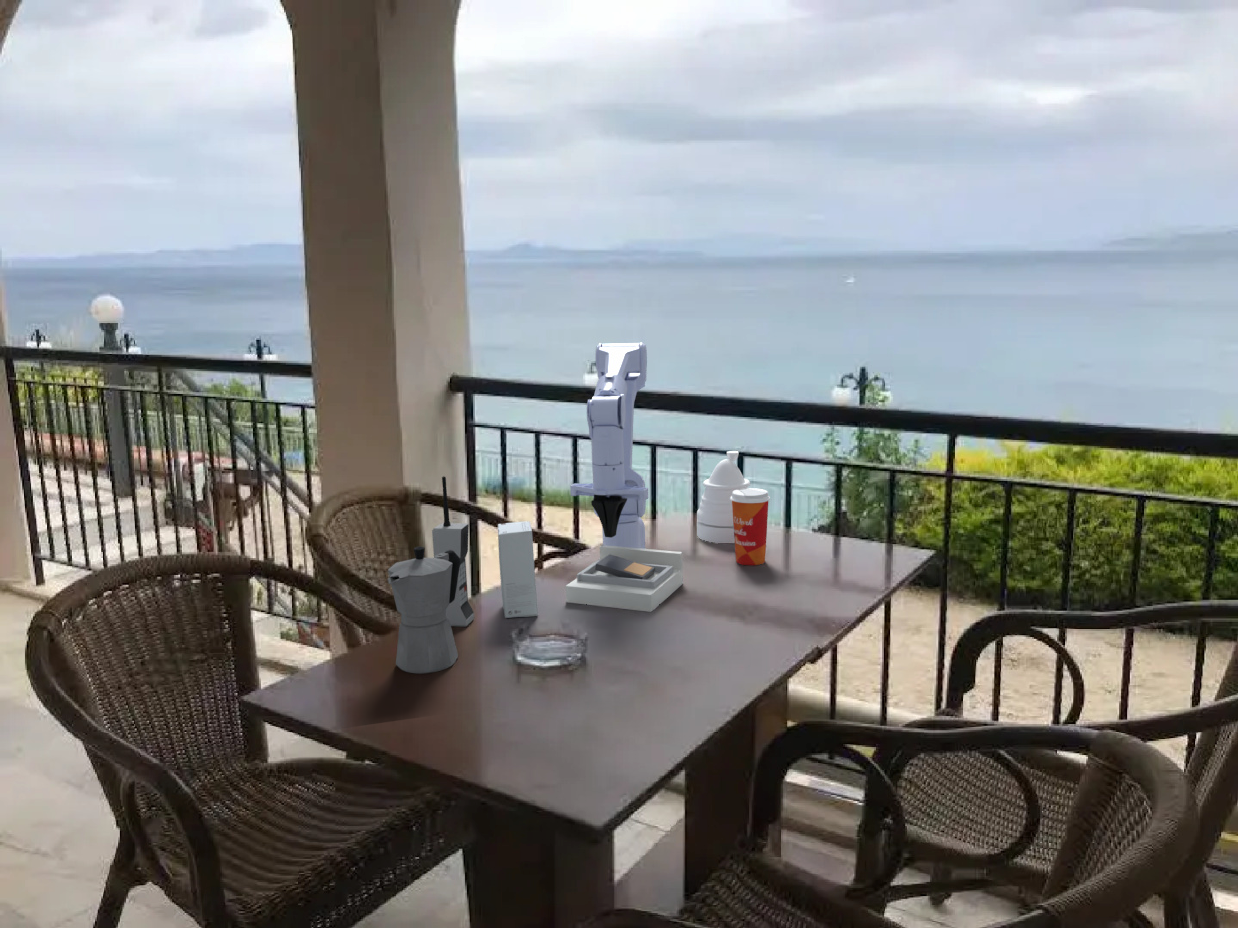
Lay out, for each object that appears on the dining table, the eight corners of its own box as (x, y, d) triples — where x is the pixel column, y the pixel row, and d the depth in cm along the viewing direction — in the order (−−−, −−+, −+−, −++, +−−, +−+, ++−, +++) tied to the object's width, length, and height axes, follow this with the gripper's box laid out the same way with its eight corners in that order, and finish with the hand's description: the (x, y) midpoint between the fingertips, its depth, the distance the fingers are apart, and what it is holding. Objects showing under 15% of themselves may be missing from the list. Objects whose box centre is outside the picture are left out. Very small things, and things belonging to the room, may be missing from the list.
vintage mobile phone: (467, 627, 165) (457, 478, 160) (438, 626, 166) (428, 478, 161) (474, 619, 169) (465, 474, 164) (446, 618, 170) (436, 473, 165)
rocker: (608, 560, 184) (609, 553, 183) (654, 573, 181) (655, 567, 180) (595, 569, 178) (596, 563, 178) (641, 583, 175) (642, 576, 175)
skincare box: (538, 616, 169) (534, 531, 166) (502, 619, 169) (497, 533, 166) (535, 600, 177) (531, 519, 175) (501, 603, 177) (496, 521, 174)
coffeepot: (422, 683, 143) (413, 562, 140) (373, 672, 148) (363, 554, 144) (487, 647, 156) (481, 535, 153) (440, 637, 161) (433, 529, 158)
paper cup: (723, 559, 198) (722, 490, 196) (756, 553, 201) (756, 485, 199) (744, 569, 191) (744, 498, 189) (778, 563, 194) (778, 493, 192)
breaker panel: (603, 575, 190) (602, 545, 189) (683, 583, 184) (682, 552, 183) (566, 602, 176) (564, 569, 175) (651, 611, 170) (650, 577, 169)
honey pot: (726, 524, 224) (725, 445, 221) (769, 535, 215) (769, 452, 211) (684, 536, 216) (683, 453, 213) (728, 547, 207) (727, 461, 203)
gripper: (561, 465, 179) (564, 538, 182) (637, 469, 173) (639, 545, 176) (578, 457, 185) (581, 528, 188) (651, 461, 180) (653, 534, 182)
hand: (610, 536), depth 183 cm, fingers closed
